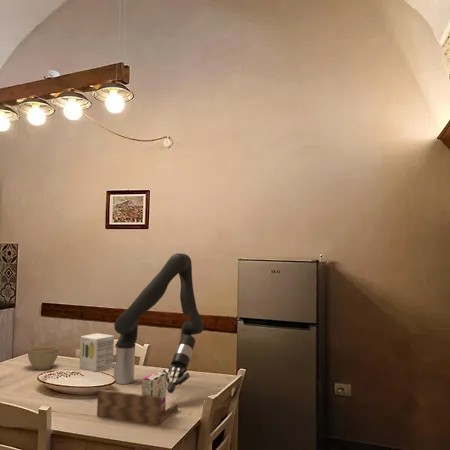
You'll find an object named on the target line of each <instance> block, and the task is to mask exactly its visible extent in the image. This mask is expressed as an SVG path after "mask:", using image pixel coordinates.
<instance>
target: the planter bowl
mask: <svg viewBox="0 0 450 450" xmlns="http://www.w3.org/2000/svg"><path fill="white" fill-rule="evenodd" d="M59 350H60V347H59V346H57V345H54V344H53V345H52V344H51V345H50V344H48V345H47V344H42V345H41V344H40V345H34V346H29V347H28V348H27V358H28V361H29V364H30V365H31V366H32V369H34V370H40V371H43V370H49V369H52V367H53V364H54V363H55V362H56V361H57V358H58V355H59Z"/></svg>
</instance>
